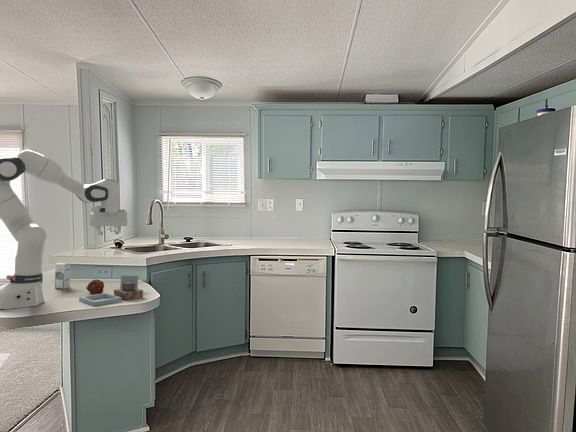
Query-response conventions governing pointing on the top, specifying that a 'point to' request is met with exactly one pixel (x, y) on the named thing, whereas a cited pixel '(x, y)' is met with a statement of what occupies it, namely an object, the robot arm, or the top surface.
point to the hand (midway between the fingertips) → (108, 234)
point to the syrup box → (62, 275)
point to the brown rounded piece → (95, 286)
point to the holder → (128, 294)
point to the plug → (128, 286)
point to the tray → (95, 303)
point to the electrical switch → (129, 280)
